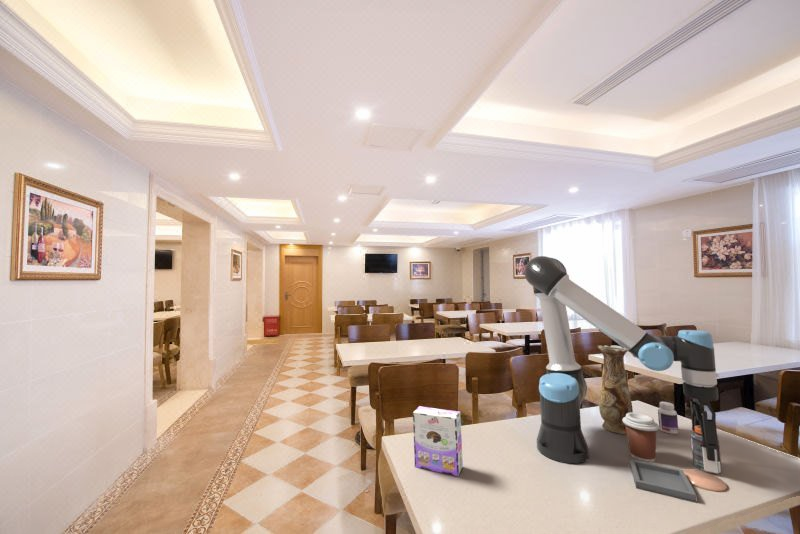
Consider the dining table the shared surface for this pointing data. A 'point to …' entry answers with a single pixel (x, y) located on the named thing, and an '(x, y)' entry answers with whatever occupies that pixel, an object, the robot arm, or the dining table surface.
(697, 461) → the pill bottle
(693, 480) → the peach flat disc
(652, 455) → the coffee cup
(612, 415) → the vase
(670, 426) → the pill bottle
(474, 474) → the dining table surface
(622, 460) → the dining table surface
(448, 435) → the candy box
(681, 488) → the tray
